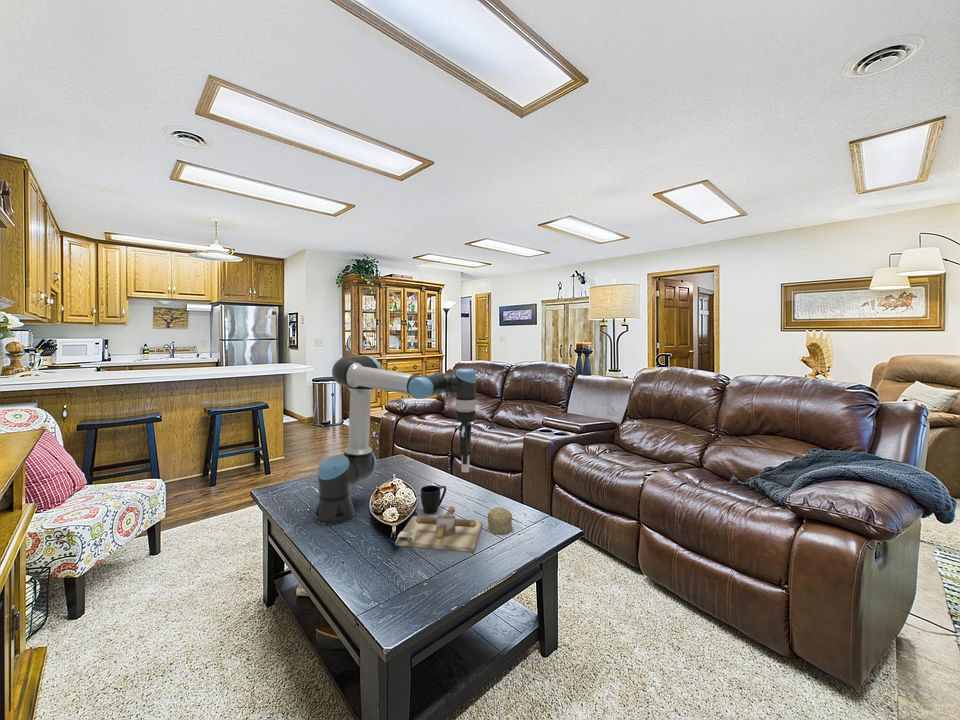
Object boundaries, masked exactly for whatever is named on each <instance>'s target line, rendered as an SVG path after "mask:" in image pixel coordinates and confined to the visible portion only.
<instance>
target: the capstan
mask: <svg viewBox="0 0 960 720" xmlns="http://www.w3.org/2000/svg"><path fill="white" fill-rule="evenodd" d="M455 511H456V509H455V507H454V506H450V507H448V508H447V512H445V513H441V514H439V515H437V516H436V517H433V516H421V515H418V517H417V518H416V522H417V523H418V524H434V525H436V532H437V533H436V538H437V539H441V538H442V537H443V536H448V535H452V534H454V533H455V526H462V527H472V528H473V527H475V526H476V521H477V520H475V519H460V518H456V516H455V515H454V513H455Z"/></svg>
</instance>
